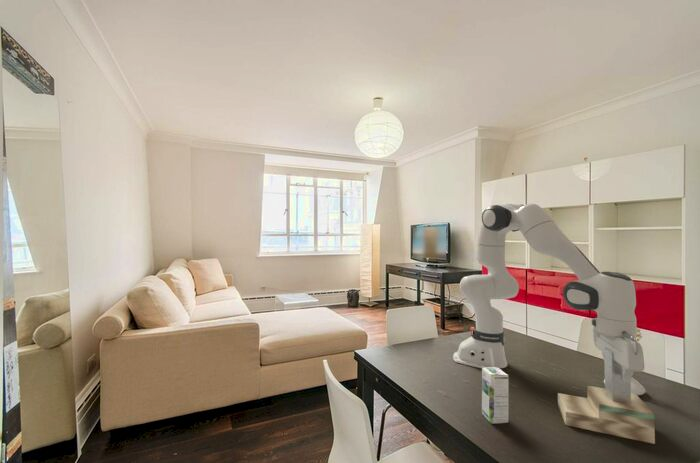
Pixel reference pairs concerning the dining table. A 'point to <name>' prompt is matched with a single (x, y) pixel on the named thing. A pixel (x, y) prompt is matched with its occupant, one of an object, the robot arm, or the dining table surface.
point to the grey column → (615, 380)
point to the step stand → (608, 415)
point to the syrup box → (495, 395)
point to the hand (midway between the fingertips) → (617, 374)
